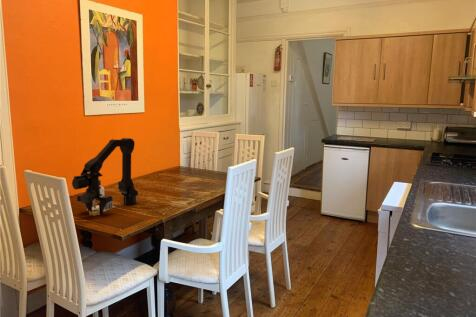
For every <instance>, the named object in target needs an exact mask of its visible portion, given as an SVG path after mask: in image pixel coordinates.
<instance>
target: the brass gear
mask: <svg viewBox="0 0 476 317" xmlns="http://www.w3.org/2000/svg"><path fill="white" fill-rule="evenodd" d="M88 215H89V216H95V217H96V216H101V215H100V210H99V209H92V210H90V211H88Z"/></svg>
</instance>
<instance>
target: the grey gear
mask: <svg viewBox="0 0 476 317" xmlns="http://www.w3.org/2000/svg"><path fill="white" fill-rule="evenodd" d="M113 206H114V204H113V201H111V202H108V203H107V204H106V206H105V208H104V209H109V210H111V209H112V208H111V207H113ZM110 208H111V209H110ZM113 208H114V207H113Z"/></svg>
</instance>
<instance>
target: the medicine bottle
mask: <svg viewBox="0 0 476 317" xmlns="http://www.w3.org/2000/svg"><path fill="white" fill-rule="evenodd" d="M101 183H102V182H101V180H100V179H99V186H100V187H101V189H100V194H102V196H100V197H103V196H106V195H105V194H106V193H105V187H103V186H102V184H101ZM96 199H97V198H96Z"/></svg>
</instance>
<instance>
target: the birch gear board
mask: <svg viewBox="0 0 476 317" xmlns="http://www.w3.org/2000/svg"><path fill="white" fill-rule="evenodd" d="M113 208H116V205H113V207H111V208H110V209H104V210H103V212H107V211H109V210H112V209H113ZM92 209H99V205H98V204H97V205H96V200H93V202H92ZM86 211H88V209H87V208H86Z"/></svg>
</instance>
